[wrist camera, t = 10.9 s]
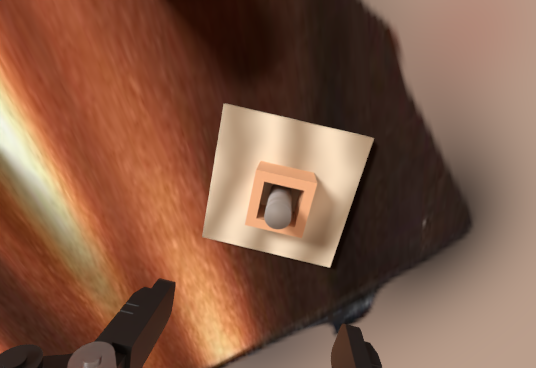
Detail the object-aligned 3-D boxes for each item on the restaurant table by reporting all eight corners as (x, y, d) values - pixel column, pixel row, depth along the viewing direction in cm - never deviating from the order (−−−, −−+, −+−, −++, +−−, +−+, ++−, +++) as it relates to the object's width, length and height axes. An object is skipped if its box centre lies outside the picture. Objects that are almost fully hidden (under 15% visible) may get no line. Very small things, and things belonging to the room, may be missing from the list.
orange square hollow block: (250, 210, 32) (244, 224, 28) (260, 160, 30) (256, 169, 26) (300, 221, 32) (301, 238, 28) (314, 172, 30) (317, 183, 26)
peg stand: (205, 232, 35) (179, 271, 27) (226, 103, 30) (203, 104, 22) (328, 261, 34) (339, 309, 26) (370, 137, 29) (399, 150, 22)
